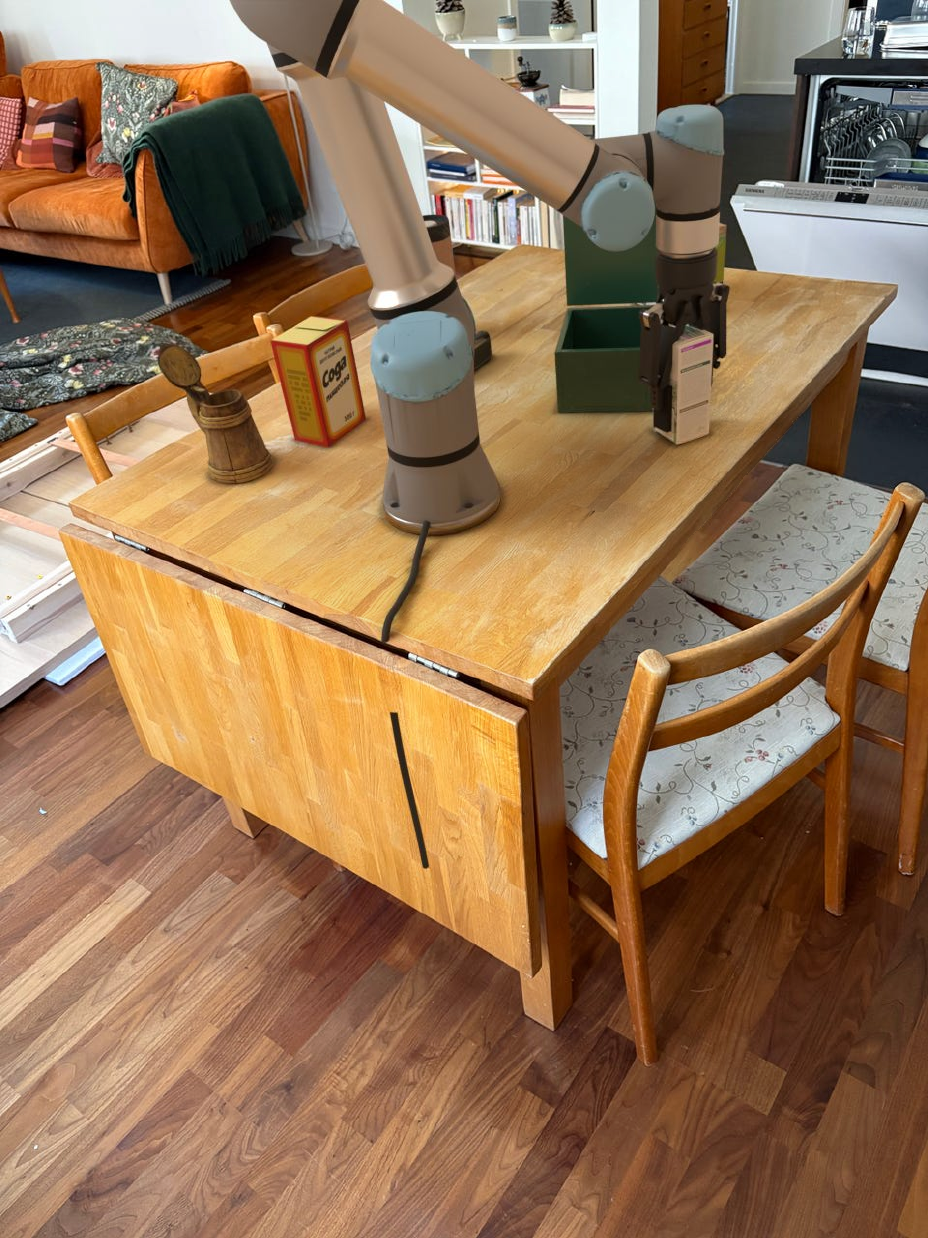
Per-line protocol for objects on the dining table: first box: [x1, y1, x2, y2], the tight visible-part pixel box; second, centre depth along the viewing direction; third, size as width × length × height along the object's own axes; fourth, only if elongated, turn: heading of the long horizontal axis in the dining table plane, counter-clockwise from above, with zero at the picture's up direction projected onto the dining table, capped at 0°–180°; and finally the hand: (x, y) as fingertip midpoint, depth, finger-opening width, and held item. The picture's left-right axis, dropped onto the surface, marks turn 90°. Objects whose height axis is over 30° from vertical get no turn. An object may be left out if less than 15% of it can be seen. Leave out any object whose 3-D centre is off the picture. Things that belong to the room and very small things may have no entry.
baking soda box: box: [270, 315, 367, 448], centre depth 140 cm, size 10×6×16 cm
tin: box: [554, 304, 654, 414], centre depth 143 cm, size 17×14×9 cm
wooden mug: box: [157, 342, 274, 484], centre depth 134 cm, size 9×14×18 cm, turn 59°
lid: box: [562, 202, 658, 307], centre depth 144 cm, size 18×14×8 cm
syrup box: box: [652, 324, 713, 446], centre depth 128 cm, size 6×6×14 cm
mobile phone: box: [474, 330, 493, 371], centre depth 155 cm, size 5×3×15 cm
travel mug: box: [422, 214, 457, 278], centre depth 163 cm, size 8×8×20 cm
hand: (681, 419), depth 131 cm, fingers closed on syrup box, 6 cm apart
